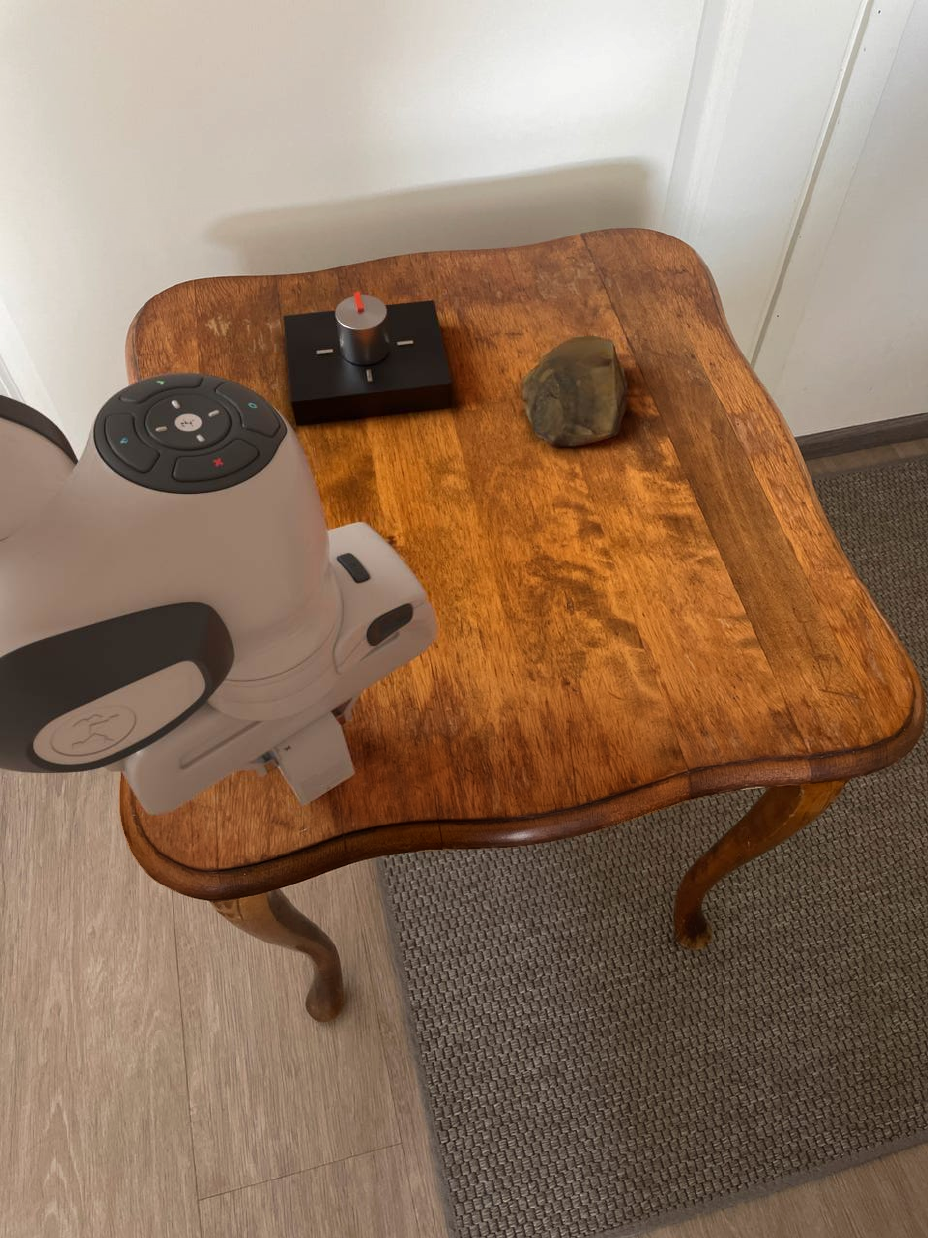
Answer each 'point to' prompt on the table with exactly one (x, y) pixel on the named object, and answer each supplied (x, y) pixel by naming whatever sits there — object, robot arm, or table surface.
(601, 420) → the decorative stone
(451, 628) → the table surface
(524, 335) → the table surface
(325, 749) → the small box
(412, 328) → the panel
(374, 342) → the dial
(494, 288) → the table surface
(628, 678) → the table surface
